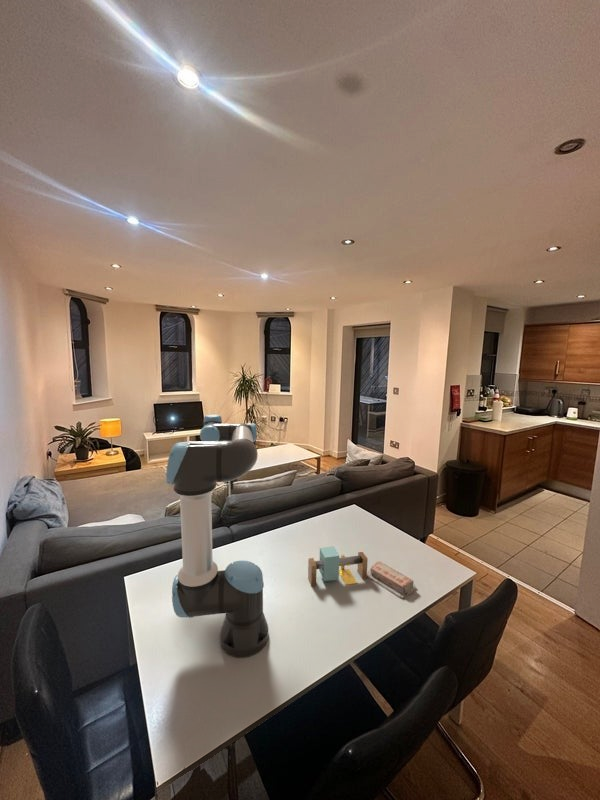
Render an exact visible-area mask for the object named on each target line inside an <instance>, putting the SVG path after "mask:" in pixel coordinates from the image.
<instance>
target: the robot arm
mask: <svg viewBox="0 0 600 800" xmlns="http://www.w3.org/2000/svg"><path fill="white" fill-rule="evenodd" d="M222 419H223V418H222V416H221V415H220V414H207V415H204V416H203V427H202V428H201V429H200V432H199V439H200V440H201V441H200V440H199V441H192V440H189V441H180V442H176V443H174V444H173V445H172V447H171V450H170V452H169V455H168V459H167V465H166V473H165V480H166V484H167V485H170V486H173V492H174V493H175V494H176V495H177V496H179V502H180V503H179V505H180V506H179V507H180V508H179V510H180V528H181V530H180V531H181V550H182V551H181V553H182V554H181V555H182V567H181V568H180V569H179V571H178V574H176V575H175V576H174V578H173V581H172V585H171V586H172V587H171V594H172V596H171V600H172V601H171V602H172V608H173V612H174V613H175V615H176V616H177V617H178V618H189V619H190V618H191V619H192V618H196V617H204V616H210V615H212V616H213V615H221V614H222V615H223V614H225V618H224V620H223V623H222V626H221V629H220V634H219V643H220V646H221V649H222V650H223V651H224V652H225V653H226V654H227V655H229V656H231V657H234V658H247V657H251V656H254V655H256V654H257V653H259V652H260V651H262V649H264V647H265V646H266V644H267V642H268V639H269V624H268V622H267V619H266V616H265V613H264V587H265V585H264V583H265V582H264V577H263V576H264V574H263V571H262V569H261V568H260V566H259V565H258V564H256V563H254V562H251V561H248V560H235V561H233V562H231V563H229V564H228V565H227V566H226V568H225V570H222V569H221V570H219V567H218V565H217V563H216V562H215V561H214V560H213V526H212V525H213V520H212V517H213V516H212V493H213V492H214V491H215V489H216V488H217V483H225V482H226V483H228V499H229V498H231V494H232V493H231V490H233V489H234V482H237V481H238V479H239V478H241V477H243V476H245V475H246V474H248V473H249V472H251V470H252V469H253V468H254V466H255V465H256V463H257V460H258V449H257V446H256V444H255V443H254V442H256V441H257V439H258V426H257V424H256V423H250V422H246V423H223V421H222Z"/></svg>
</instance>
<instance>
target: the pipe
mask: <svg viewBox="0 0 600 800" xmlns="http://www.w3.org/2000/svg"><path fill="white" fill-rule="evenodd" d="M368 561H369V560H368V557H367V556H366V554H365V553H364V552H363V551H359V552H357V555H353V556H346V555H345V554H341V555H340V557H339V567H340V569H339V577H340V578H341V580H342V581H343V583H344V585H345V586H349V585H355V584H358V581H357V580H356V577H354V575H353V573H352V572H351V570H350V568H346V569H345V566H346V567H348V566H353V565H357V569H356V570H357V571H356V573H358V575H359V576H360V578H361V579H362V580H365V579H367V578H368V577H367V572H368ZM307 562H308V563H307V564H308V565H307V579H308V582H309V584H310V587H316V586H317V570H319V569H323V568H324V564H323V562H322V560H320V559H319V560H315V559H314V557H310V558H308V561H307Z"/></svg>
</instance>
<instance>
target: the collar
mask: <svg viewBox="0 0 600 800" xmlns="http://www.w3.org/2000/svg"><path fill="white" fill-rule="evenodd" d="M339 558H340V554H339V553H338V551H337V549H336V548H335V546H326V547H320V548H319V561H320V560H322V562H323V564H324V568H323V569H318V570H319V574H320V575H321V577H322V580H323V581H324V582H330V581H335V580H336V581H337V580H340V579H339V578H340V574H339V570H340V566H339Z"/></svg>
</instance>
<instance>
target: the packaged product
mask: <svg viewBox="0 0 600 800" xmlns="http://www.w3.org/2000/svg"><path fill="white" fill-rule="evenodd" d="M367 578H368V579H370V580H372V581H373V582H374V583H376V584H378V585H379V586H381V588H384V589H385V590H387V591H389V592H390V593H391V594H393V595H395V596H397V597H399V598H400V599H401V600H403V599H405V598H406V597H407V596H408V595H410V594H411V593H412V592H414V590H416V589H417V587H416V584H414V580H413V579H411V578H409V577H408V576H406V575H404V574H403V573H402V572H399V571H397V570H396V569H394V568H393V567H390V566H389V565H388V564H385V563H383V562H382V561H376V562H375V563H374V564H373V566H371V568H370V569H369V570H367Z"/></svg>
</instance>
